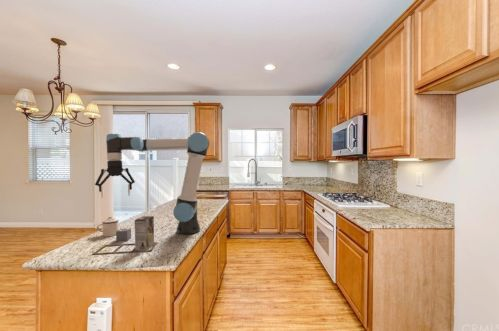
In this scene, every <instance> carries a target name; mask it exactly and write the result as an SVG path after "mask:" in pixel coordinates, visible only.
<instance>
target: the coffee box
mask: <svg viewBox="0 0 499 331" xmlns="http://www.w3.org/2000/svg"><path fill="white" fill-rule="evenodd" d="M154 217H155V216H152V215H151V216H149V215H147V216H145V215H144V216H141V217H138V218H136V219H134V243H135V245H134V246H135V247H134V248H135V251H141V250H150V249H151V248H152V247H153V245H154V242H155V224H154V223H155V219H154Z"/></svg>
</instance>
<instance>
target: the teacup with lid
mask: <svg viewBox="0 0 499 331" xmlns="http://www.w3.org/2000/svg"><path fill="white" fill-rule="evenodd" d="M119 221H120V220H119V219H118V218H115V217H113V216H111V215H109V216H108V218H106V219H104V220H102V222H101V223H100V224H97V226H96V229H97V231H98V232H99V233H100V232H101V233H102V237H105V238H107V237H113V236H116V231H118V230H119ZM99 226H102V230H100V228H99Z"/></svg>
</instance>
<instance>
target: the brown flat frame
mask: <svg viewBox="0 0 499 331" xmlns="http://www.w3.org/2000/svg"><path fill="white" fill-rule="evenodd" d="M157 245H158V241H154V245H153V246H152V247H150V248H149V249H148V250H141V251H135V247H134V248H133V249H132V250H125V251H119V250H120V249H121V248H122V247H123V246H135V242H134V243H115V244H113V243H111V244H104V245H102V246H101V247H99V248H98V249H97V250H96V251H94V252H93V253H92V256H96V255H114V254H132V253H150V252H152V251H153V250H154V249H155V247H156V246H157ZM106 247H117V248H115V249H114V250H113V251H109V252H107V251H106V252H100V251H101V250H103V249H104V248H106Z"/></svg>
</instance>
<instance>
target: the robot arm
mask: <svg viewBox="0 0 499 331" xmlns="http://www.w3.org/2000/svg"><path fill="white" fill-rule="evenodd" d="M105 142H106V143H105V144H106V159H107V163H106V164H107V168H106V169H104V168H102V169H101V170H100V174H99V176H98V178H97V180H96V182H95V184H94V185H95V186H97V187H98V192H99V193H100V194H101V198H105V192H104V191H105V190H104V188H105V187H104V184H105V182H107V181H108V180H109V178H110V177H121V178H122V179H123V180H124V181H126V182H127V183H128V184H127V193H128V194H127V196H131V190H132V189H133V188H132V187H133V186H132V185H133V184H135V182H136V181H135V180H134V177H133V176H132V175H131V172H130V170H129V168H128V167H125V168H123V161H122V159H123V151H137V152H149V151H155V152H156V151H186V153H187V155H188V159H187V164H186V168H185V173H184V177H183V181H182V187H181V190H180V191H181V192H180V195H178V196H177V199H176V202H175V206H174V208H173V210H172V211H173V217H174V218H175V220H177V221H178V223H177V226H176V233H177V234H178V235H191V234H193V235H194V234H196V233H199V232H201V226H200V222H199V220H198V198H197V197H196V195H197V189H198V184H199V181H200V180H199V179H200V175H201V170H202V165H203V160H204V159H205V158H206V157H207V153H208V150H209V147H210V139H209V137H208V135H206V134H205V133H204V132H199V131H196V132H193V133H192V134H190V136H188V137H187V138H154V139H153V138H148V139H145V138H143V139H142V137H141V136H129V137H127V136H125V137H124V136H123V137H122V135H121V134H120V133H108V134H106V141H105ZM123 171H124V172H125V173H126V174H127V176H128V177H129V179H128V178H127V177H126V176H125V175H124V174H123ZM105 173H108V174H107V175H106V176H105V177H104V179H103V176H104V174H105ZM101 179H103V180H101Z"/></svg>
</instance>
